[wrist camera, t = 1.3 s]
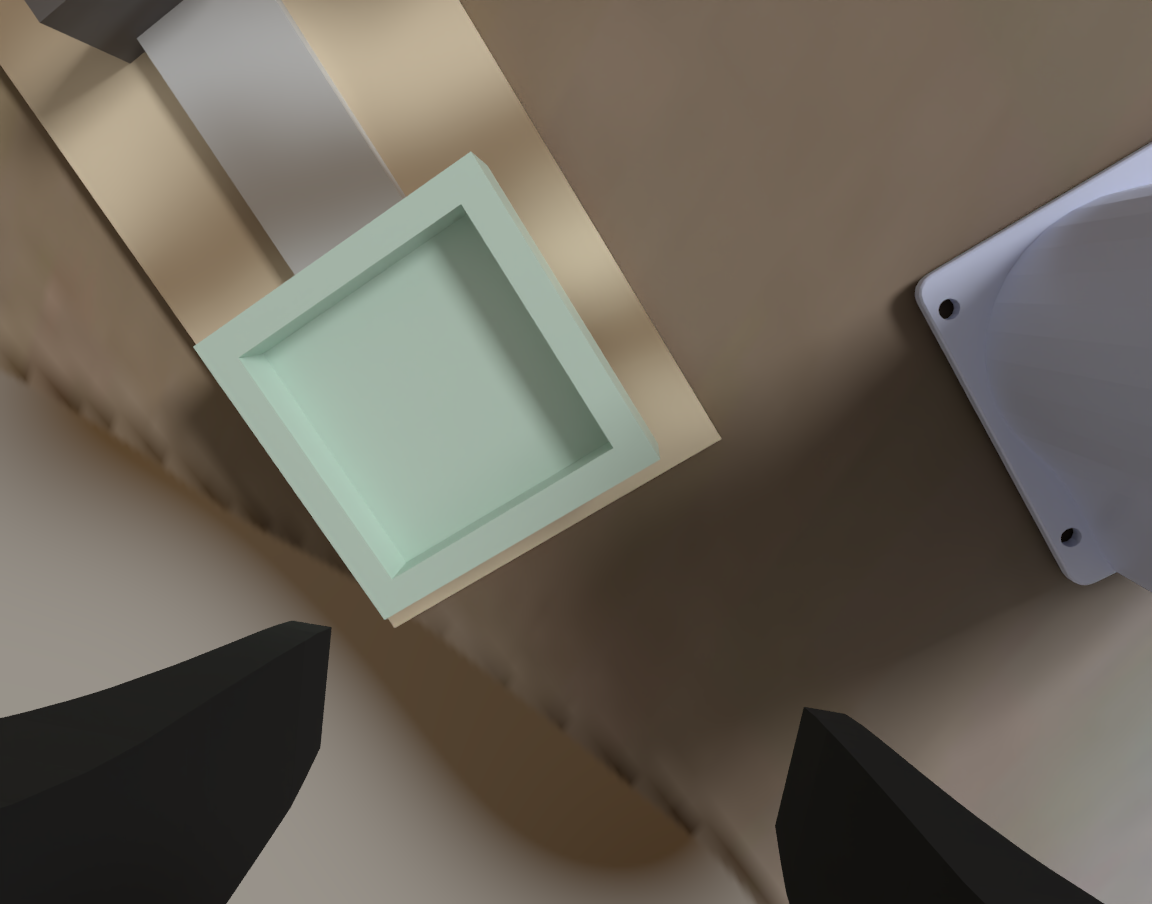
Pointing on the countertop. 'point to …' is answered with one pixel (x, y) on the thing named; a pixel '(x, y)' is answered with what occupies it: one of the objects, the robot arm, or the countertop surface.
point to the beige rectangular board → (315, 163)
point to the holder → (430, 389)
